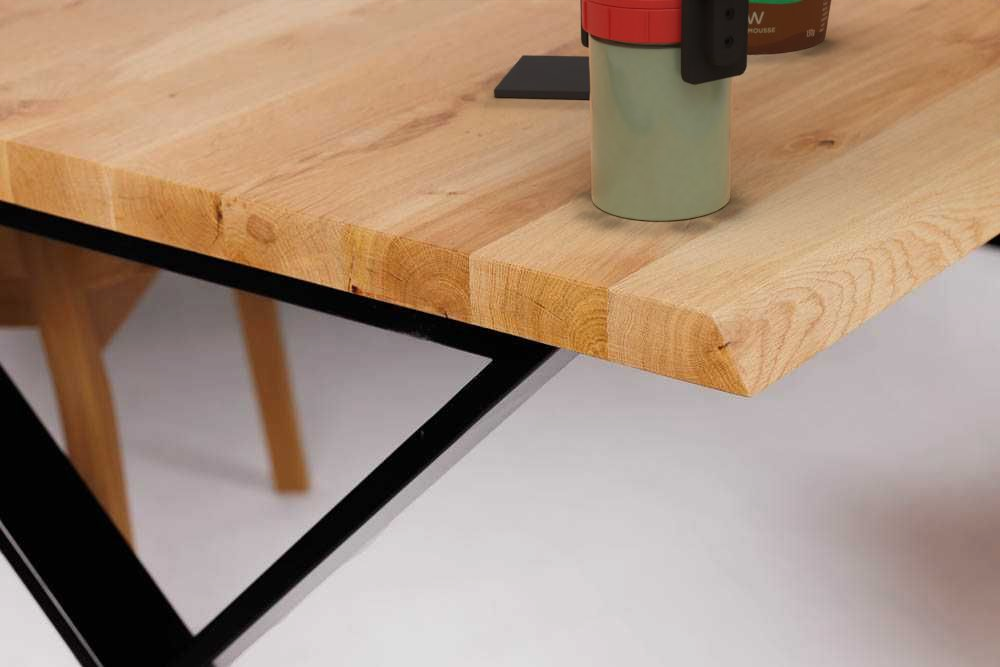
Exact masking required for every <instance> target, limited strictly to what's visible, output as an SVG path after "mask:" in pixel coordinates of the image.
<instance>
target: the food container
mask: <svg viewBox="0 0 1000 667" xmlns="http://www.w3.org/2000/svg"><path fill="white" fill-rule="evenodd" d="M831 4H832V0H749V15H748V47H747V55H761V54H762V55H763V54H765V55H766V54H779V53H786V52H795V51H799V50H803V49H807V48H810V47H813V46H816V45H818V44H820V43H822V42H823V41H824V40H825V38H826V35H827V29H828V23H829V16H830V12H831Z"/></svg>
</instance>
